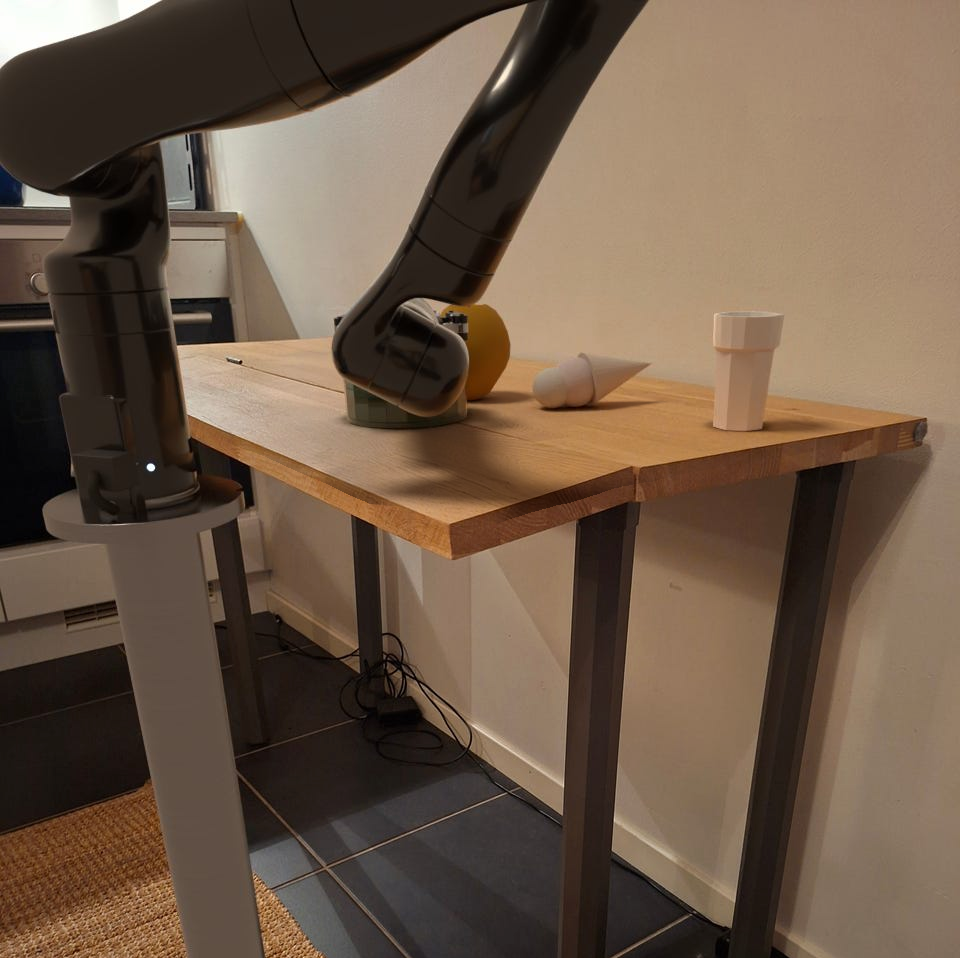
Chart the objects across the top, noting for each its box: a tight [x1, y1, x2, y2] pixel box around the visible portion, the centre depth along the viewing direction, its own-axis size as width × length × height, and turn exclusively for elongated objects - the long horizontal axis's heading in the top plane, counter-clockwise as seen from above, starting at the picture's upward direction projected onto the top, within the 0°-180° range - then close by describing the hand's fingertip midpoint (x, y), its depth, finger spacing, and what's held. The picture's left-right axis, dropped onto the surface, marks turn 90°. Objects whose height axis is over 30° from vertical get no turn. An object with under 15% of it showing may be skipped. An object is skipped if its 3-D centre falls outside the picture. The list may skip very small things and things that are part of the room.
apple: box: [440, 303, 512, 401], centre depth 111 cm, size 10×10×12 cm
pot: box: [342, 378, 468, 430], centre depth 101 cm, size 14×14×7 cm
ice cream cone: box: [532, 352, 653, 409], centre depth 106 cm, size 6×6×15 cm
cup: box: [712, 310, 785, 432], centre depth 92 cm, size 7×7×11 cm
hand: (401, 321), depth 101 cm, fingers closed on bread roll, 5 cm apart
